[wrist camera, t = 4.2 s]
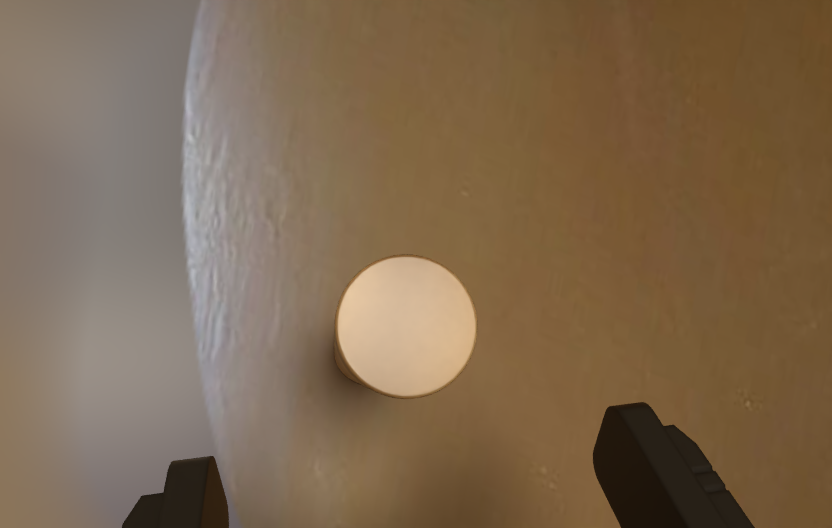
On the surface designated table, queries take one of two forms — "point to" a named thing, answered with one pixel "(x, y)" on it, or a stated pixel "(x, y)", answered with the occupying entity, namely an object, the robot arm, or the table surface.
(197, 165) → the table surface
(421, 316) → the stick
